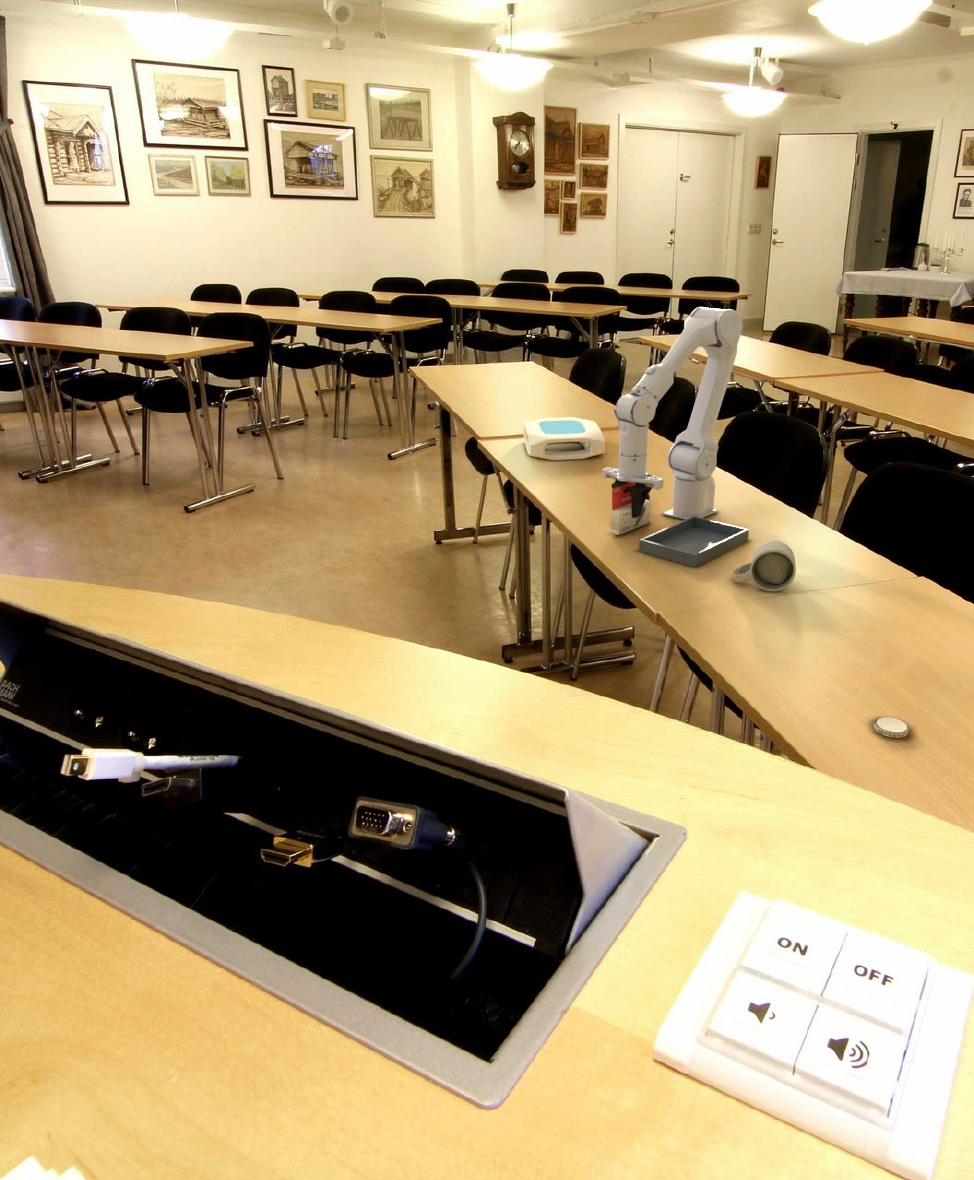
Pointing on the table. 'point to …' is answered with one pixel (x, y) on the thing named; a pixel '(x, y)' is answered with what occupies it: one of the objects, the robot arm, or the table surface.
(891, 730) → the bottle cap
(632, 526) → the ink cartridge box
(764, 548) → the ceramic mug
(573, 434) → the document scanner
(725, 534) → the tray
